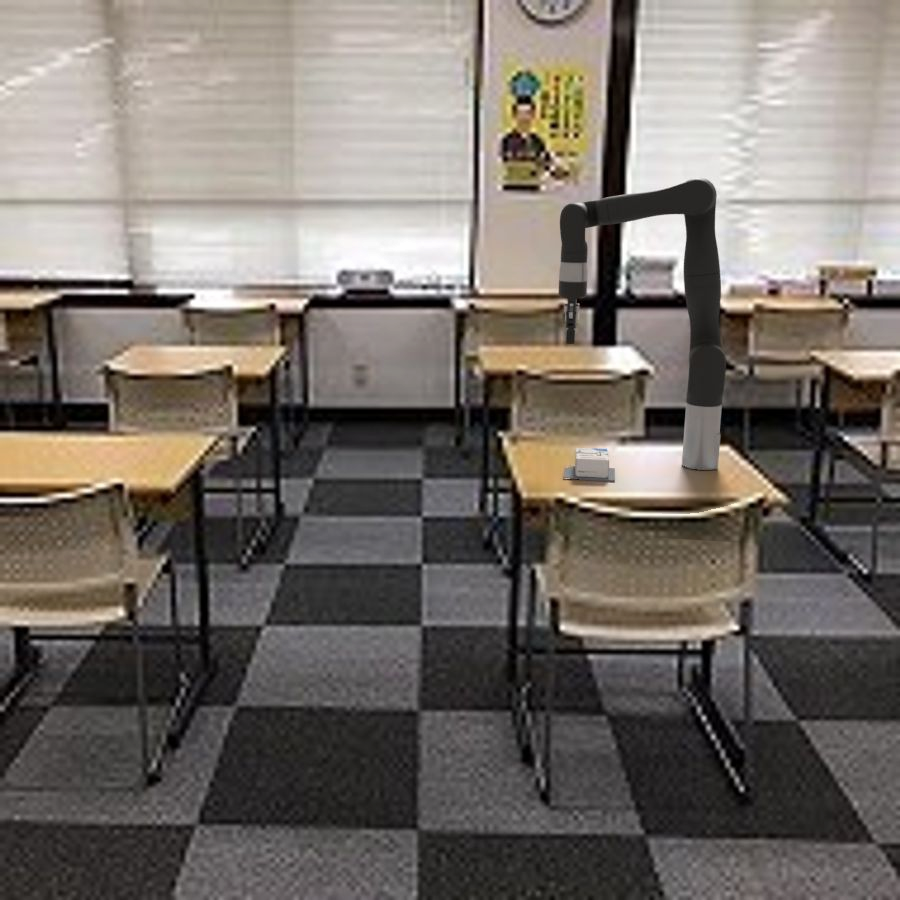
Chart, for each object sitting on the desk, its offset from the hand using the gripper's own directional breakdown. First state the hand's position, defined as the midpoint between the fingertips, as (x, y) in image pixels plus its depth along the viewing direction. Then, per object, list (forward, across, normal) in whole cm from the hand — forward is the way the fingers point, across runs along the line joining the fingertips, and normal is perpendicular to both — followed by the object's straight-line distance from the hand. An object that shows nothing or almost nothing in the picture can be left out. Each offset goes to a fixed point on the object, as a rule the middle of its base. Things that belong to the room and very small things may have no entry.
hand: (570, 343), depth 284 cm
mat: (+31, -20, -7) cm, 38 cm away
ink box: (+28, -13, -7) cm, 32 cm away
